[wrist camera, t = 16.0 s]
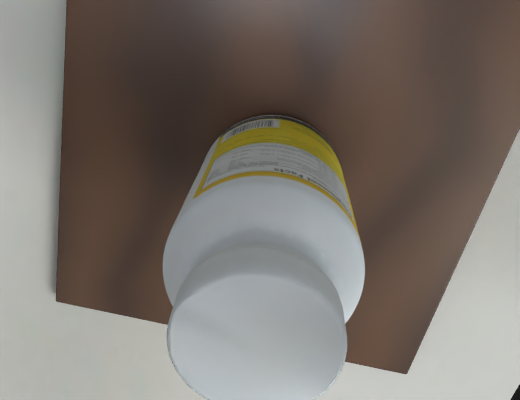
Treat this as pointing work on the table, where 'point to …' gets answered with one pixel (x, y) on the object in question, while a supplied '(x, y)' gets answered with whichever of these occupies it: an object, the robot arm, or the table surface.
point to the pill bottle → (263, 266)
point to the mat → (298, 107)
